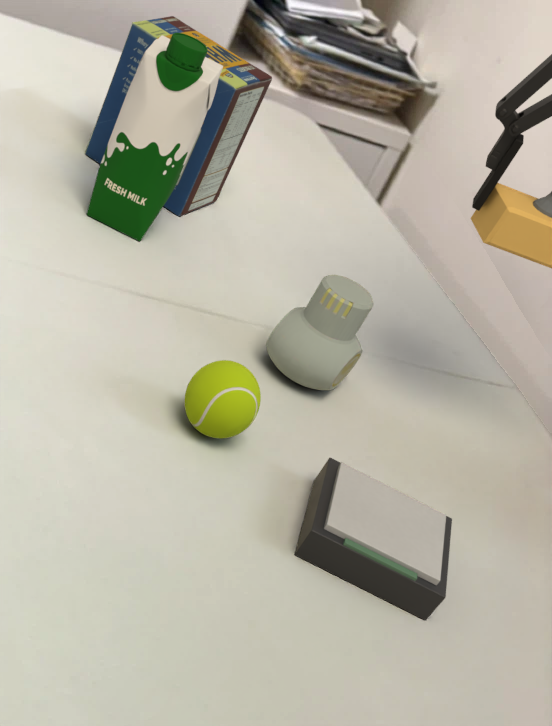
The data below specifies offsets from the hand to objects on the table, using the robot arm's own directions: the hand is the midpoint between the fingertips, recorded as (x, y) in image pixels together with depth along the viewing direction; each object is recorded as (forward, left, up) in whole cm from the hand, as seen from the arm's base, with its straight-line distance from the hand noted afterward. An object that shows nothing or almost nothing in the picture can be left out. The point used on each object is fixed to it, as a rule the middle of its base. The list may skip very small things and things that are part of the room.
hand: (530, 232), depth 106 cm
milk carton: (+39, -12, -21) cm, 46 cm away
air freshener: (+13, +3, -21) cm, 25 cm away
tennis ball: (+20, +23, -21) cm, 37 cm away
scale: (+2, +29, -21) cm, 36 cm away
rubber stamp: (0, 0, -2) cm, 2 cm away
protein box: (+39, -27, -21) cm, 52 cm away
